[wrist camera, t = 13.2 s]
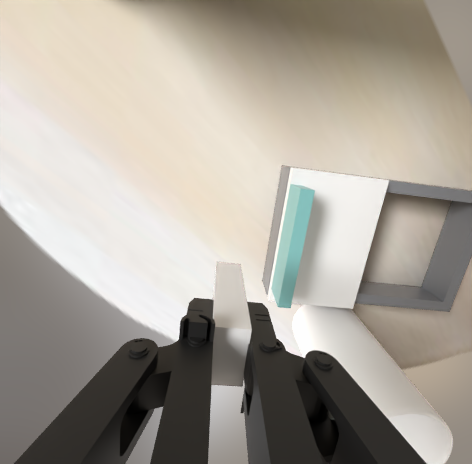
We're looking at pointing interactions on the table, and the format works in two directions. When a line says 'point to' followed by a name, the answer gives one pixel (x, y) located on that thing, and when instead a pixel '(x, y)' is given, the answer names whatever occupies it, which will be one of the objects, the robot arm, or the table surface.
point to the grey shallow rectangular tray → (442, 262)
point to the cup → (375, 376)
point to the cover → (324, 238)
